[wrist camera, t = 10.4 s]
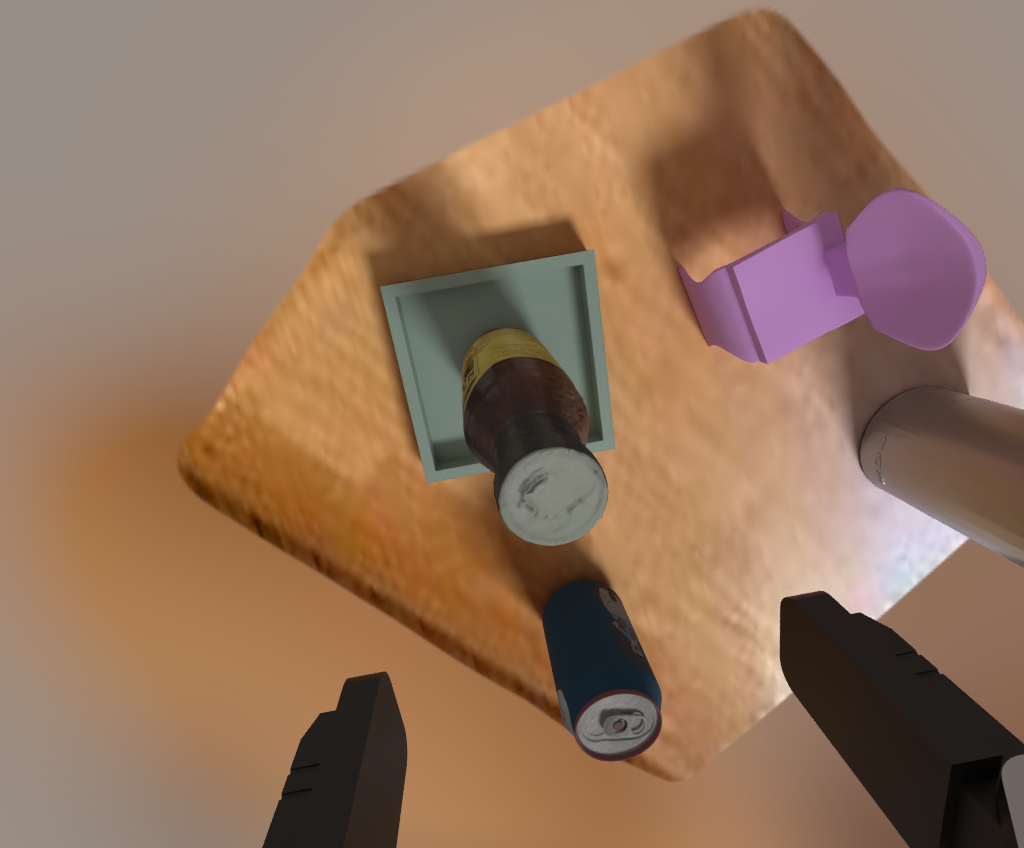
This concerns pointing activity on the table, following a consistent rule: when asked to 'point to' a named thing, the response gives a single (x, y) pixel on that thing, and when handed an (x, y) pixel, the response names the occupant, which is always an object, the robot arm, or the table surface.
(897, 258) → the chair
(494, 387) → the sauce bottle
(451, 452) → the tray
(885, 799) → the robot arm
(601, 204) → the table surface
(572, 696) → the soda can
